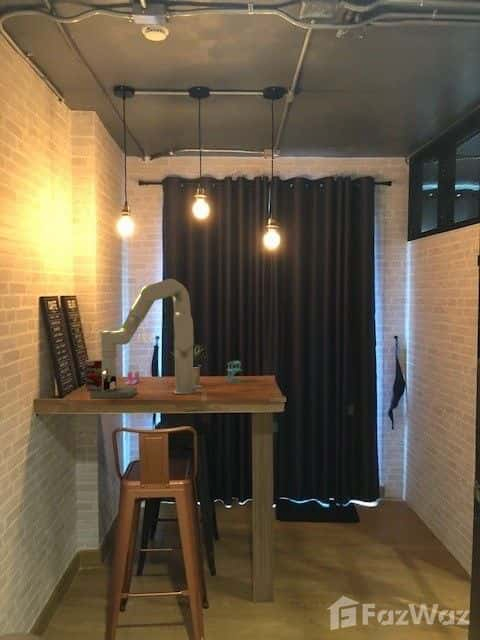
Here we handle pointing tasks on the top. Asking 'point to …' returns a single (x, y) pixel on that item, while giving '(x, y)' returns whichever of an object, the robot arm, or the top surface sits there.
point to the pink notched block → (130, 381)
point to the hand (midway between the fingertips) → (110, 387)
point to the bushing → (111, 386)
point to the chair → (233, 371)
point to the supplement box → (93, 374)
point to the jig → (114, 392)
